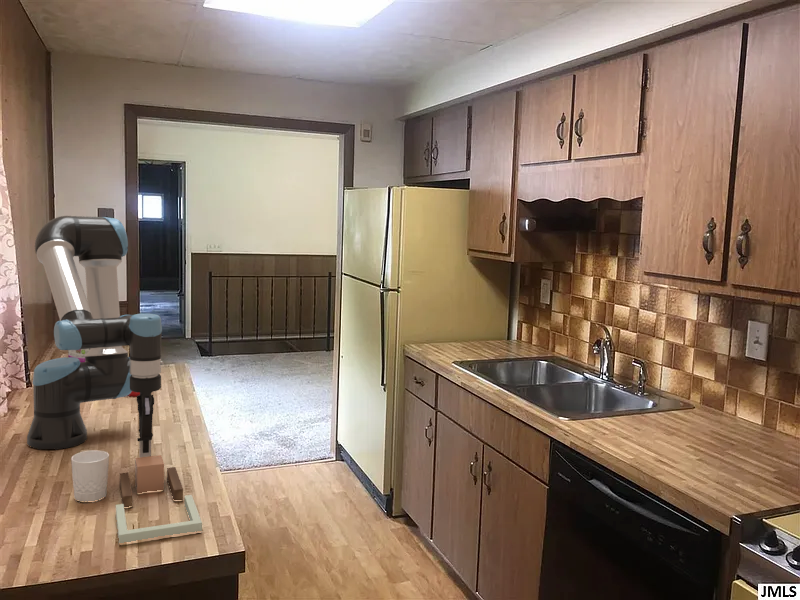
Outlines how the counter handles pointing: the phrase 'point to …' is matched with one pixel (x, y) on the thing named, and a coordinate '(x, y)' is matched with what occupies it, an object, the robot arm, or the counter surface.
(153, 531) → the bay
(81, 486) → the white cup
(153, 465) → the block
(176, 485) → the chute
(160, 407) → the counter surface
